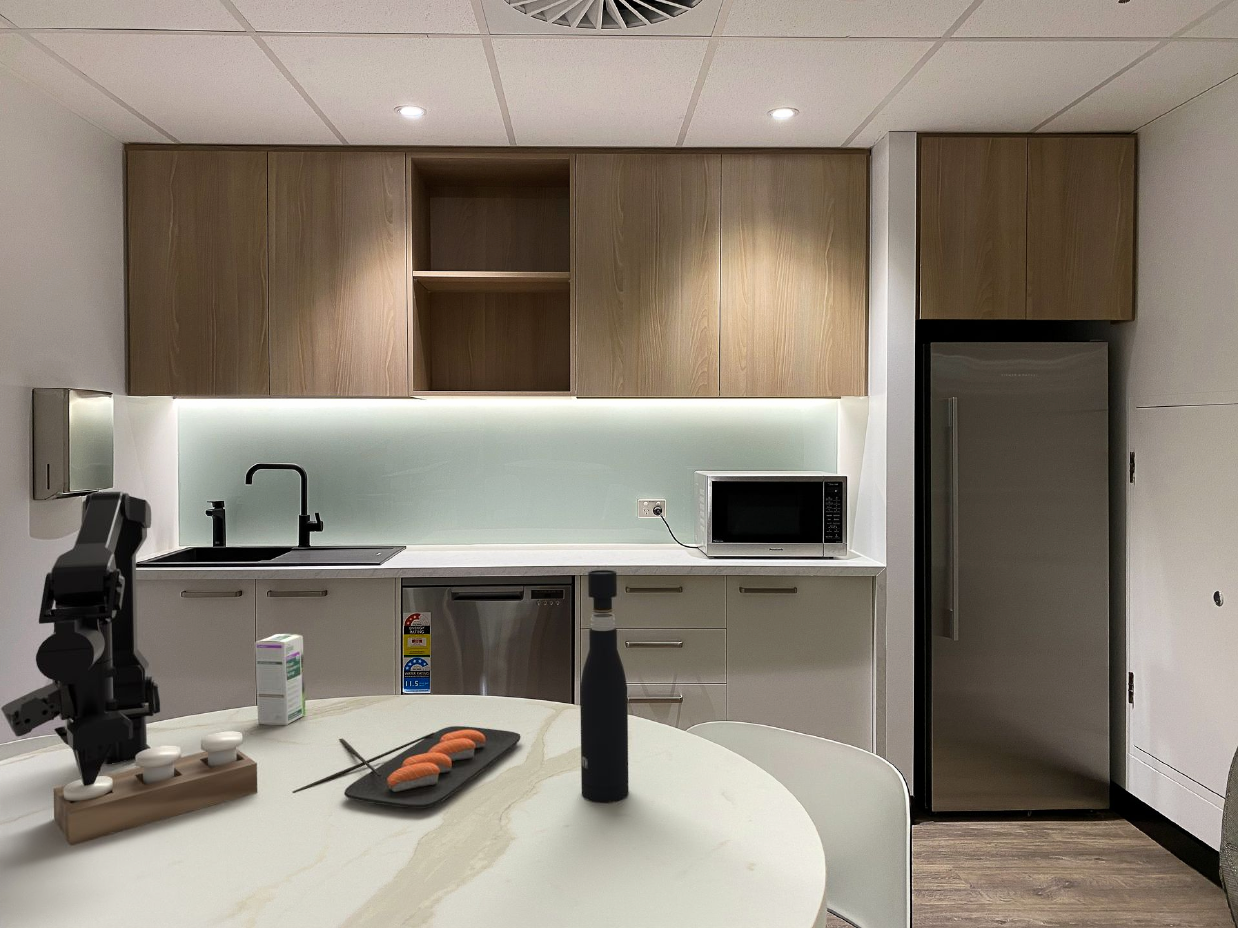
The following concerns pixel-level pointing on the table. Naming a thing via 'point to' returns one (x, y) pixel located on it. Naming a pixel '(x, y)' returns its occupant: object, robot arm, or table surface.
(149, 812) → the knob mount
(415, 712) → the table surface
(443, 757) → the sushi plate
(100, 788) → the knob
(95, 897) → the table surface
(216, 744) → the knob
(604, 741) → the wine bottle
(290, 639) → the syrup box
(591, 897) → the table surface
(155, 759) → the knob middle
